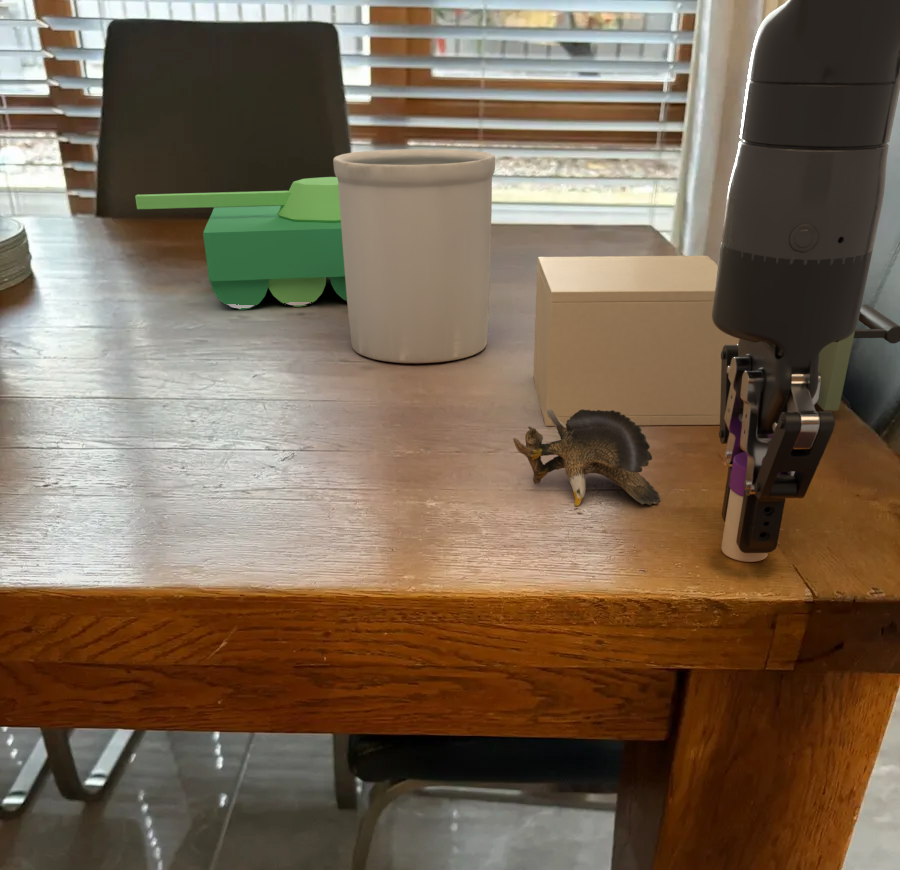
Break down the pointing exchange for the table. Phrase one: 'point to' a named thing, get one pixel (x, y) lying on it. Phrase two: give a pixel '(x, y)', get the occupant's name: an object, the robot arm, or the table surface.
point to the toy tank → (269, 240)
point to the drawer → (838, 355)
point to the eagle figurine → (594, 452)
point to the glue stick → (737, 512)
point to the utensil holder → (416, 251)
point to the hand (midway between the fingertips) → (747, 535)
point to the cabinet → (629, 338)
